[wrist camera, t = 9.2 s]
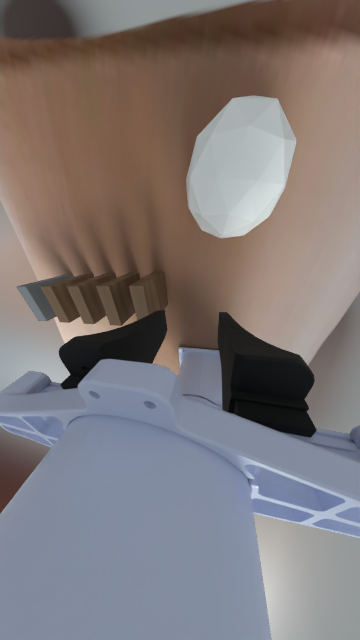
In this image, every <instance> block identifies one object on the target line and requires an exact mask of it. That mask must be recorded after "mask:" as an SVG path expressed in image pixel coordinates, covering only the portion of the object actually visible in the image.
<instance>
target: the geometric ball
mask: <svg viewBox="0 0 360 640" xmlns="http://www.w3.org/2000/svg"><path fill="white" fill-rule="evenodd" d="M296 142H297V140H296V138H295V136H294V134H293V132H292V129H291V127H290V125H289V123H288V121H287V118H286V116H285V114H284V112H283V110H282V107H281V105H280V103H279V101H278V99H276V98H269V97H262V96H255V95H254V96H246V97H238V98H232V100H231V101H230V102H229V103H228V104H227V105H226V106H225V107H224V108H223V109H222V110H221V111H220V112H219V113H218V114H217V116H216V117H215V118H214V119H213V120H212V121H211V122H210V123H209V124H208V125H207V126H206V127H205V128H204V129H203V130H202V131H201V133H200V134H199V135H198V136H197V138H196V142H195V146H194V150H193V154H192V158H191V162H190V166H189V170H188V174H187V178H186V185H187V198H188V208H189V210H190V211H191V213H192V215H193V217H194V218H195V220H196V222H197V223H198V225H199V227H200V228H201V230H202V231H205V232H207V233H209V234H212V235H214V236H216V237H219V238H228V237H236V236H244V235H245V234H246V233H248V232H249V231H250V230H252V229H253V228H254V227H256V226H257V225H258V224H260V223H261V222H262V221H264V220H265V219H266V218H268V217H269V216H270V214H271V212H272V211H273V209H274V207H275V205H276V203H277V202H278V200H279V198H280V196H281V194H282V193H283V191H284V189H285V186H286V182H287V178H288V174H289V170H290V166H291V162H292V158H293V154H294V150H295V146H296Z"/></svg>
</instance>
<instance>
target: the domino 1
mask: <svg viewBox="0 0 360 640" xmlns="http://www.w3.org/2000/svg"><path fill="white" fill-rule="evenodd" d="M73 277H74V276H73V274H72V275H62V276H58V277H54V278H50V279H46V280H42V281H38V282H34V283H29V284H25V285H21V286H17V289H18V290H19V292H20V293H21V295H22V296H23V298H24V299H25V301H26V302H27V304H28V306H29V307H30V309H31V310H32V312H33V313H34V315H35V316H36V318H37V319H38V321H48V320H50V319H52V318H54V317H56V316H57V315H56V314H55V312H54V310H53V308H52V307H51V305H50V303H49V301H48V300H47V298H46V296H45V294H44V292H43V291H42V289H41V286H45V285H48V284H52V283H55V282H59V281H63V280H66V279H70V278H73Z"/></svg>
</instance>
